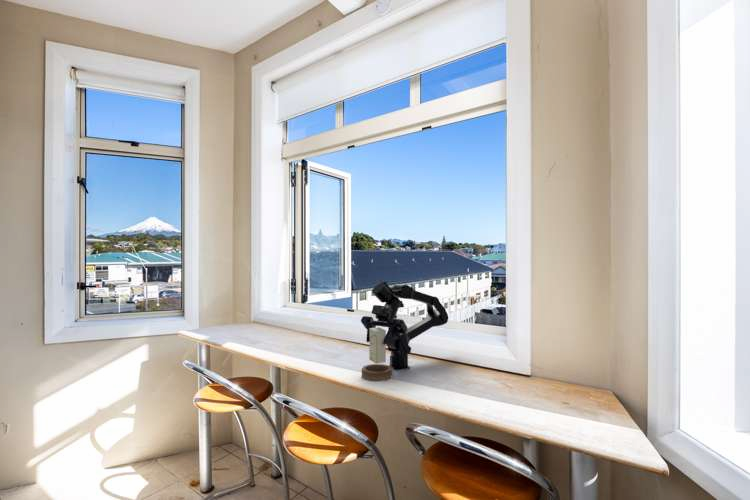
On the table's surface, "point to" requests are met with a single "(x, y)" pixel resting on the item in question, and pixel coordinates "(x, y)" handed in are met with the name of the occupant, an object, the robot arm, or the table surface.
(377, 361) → the skincare box
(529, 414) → the table surface
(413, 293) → the robot arm
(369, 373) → the walnut ring
